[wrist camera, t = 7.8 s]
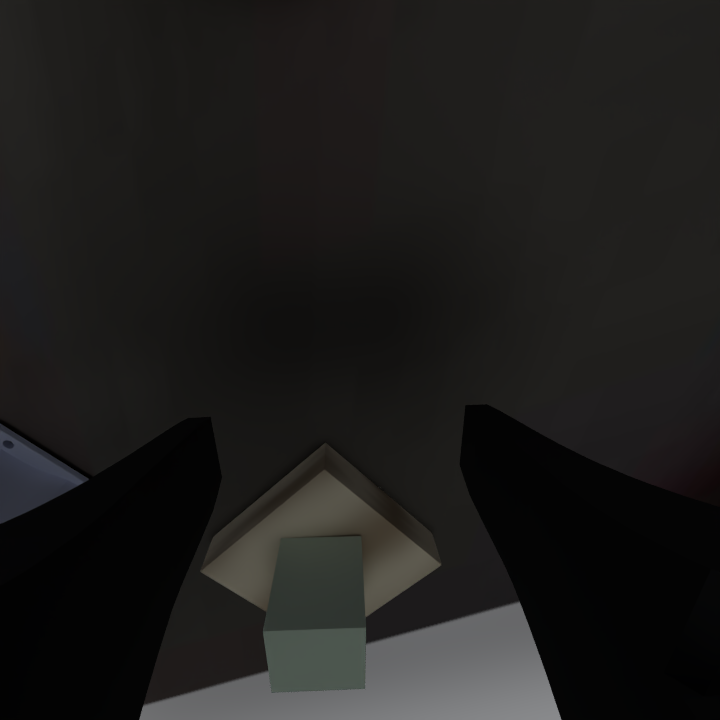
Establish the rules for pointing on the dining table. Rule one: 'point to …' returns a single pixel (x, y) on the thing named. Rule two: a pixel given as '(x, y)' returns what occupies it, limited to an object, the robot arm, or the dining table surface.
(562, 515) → the robot arm
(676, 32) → the dining table surface
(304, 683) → the sage block
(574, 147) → the dining table surface
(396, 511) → the birch block
